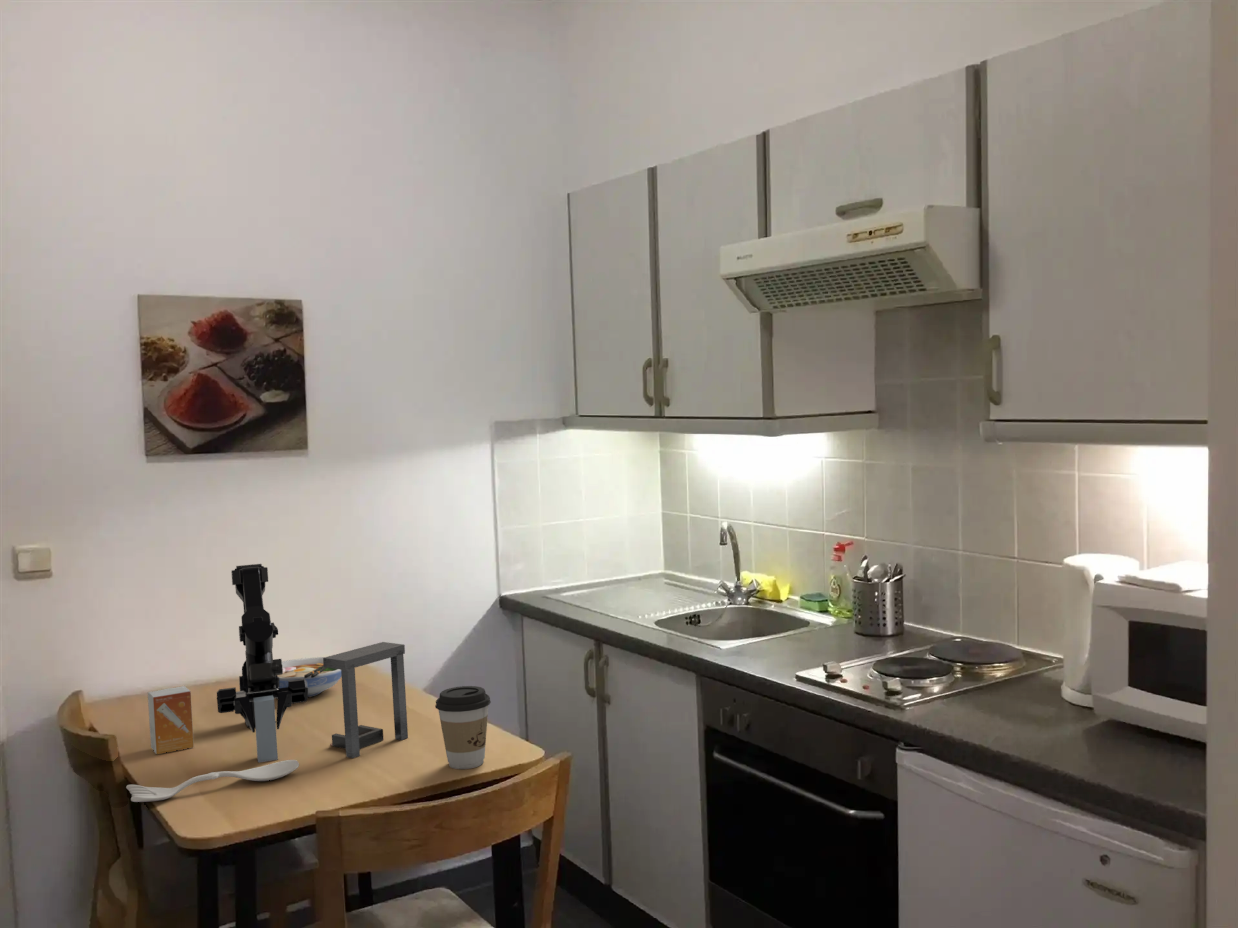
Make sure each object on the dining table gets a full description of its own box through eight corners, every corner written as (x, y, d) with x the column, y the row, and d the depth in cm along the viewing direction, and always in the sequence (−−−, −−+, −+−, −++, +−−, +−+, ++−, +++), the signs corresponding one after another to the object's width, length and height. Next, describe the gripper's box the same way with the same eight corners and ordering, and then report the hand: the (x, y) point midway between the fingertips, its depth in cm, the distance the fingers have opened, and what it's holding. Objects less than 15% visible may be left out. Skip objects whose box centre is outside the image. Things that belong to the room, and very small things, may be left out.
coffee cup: (469, 775, 218) (465, 701, 217) (426, 768, 224) (422, 695, 223) (505, 758, 227) (501, 687, 226) (462, 751, 233) (459, 682, 233)
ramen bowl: (285, 682, 303) (283, 653, 302) (364, 681, 300) (363, 652, 299) (242, 707, 278) (240, 675, 278) (328, 707, 275) (326, 674, 274)
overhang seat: (313, 750, 239) (307, 655, 238) (372, 730, 253) (367, 639, 252) (350, 758, 232) (345, 660, 231) (409, 737, 246) (404, 644, 245)
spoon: (126, 800, 213) (125, 782, 213) (293, 767, 229) (292, 750, 229) (132, 814, 205) (130, 796, 205) (304, 778, 221) (303, 761, 221)
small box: (156, 755, 241) (152, 697, 240) (150, 748, 246) (146, 691, 245) (194, 747, 245) (191, 690, 245) (188, 741, 251) (184, 685, 250)
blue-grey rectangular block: (257, 757, 236) (253, 697, 236) (276, 754, 238) (273, 695, 237) (258, 762, 232) (254, 702, 232) (277, 759, 234) (274, 699, 233)
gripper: (214, 652, 234) (217, 716, 224) (304, 642, 241) (312, 703, 231) (216, 680, 242) (219, 743, 232) (303, 670, 249) (310, 730, 239)
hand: (265, 729), depth 233 cm, fingers open, 5 cm apart
